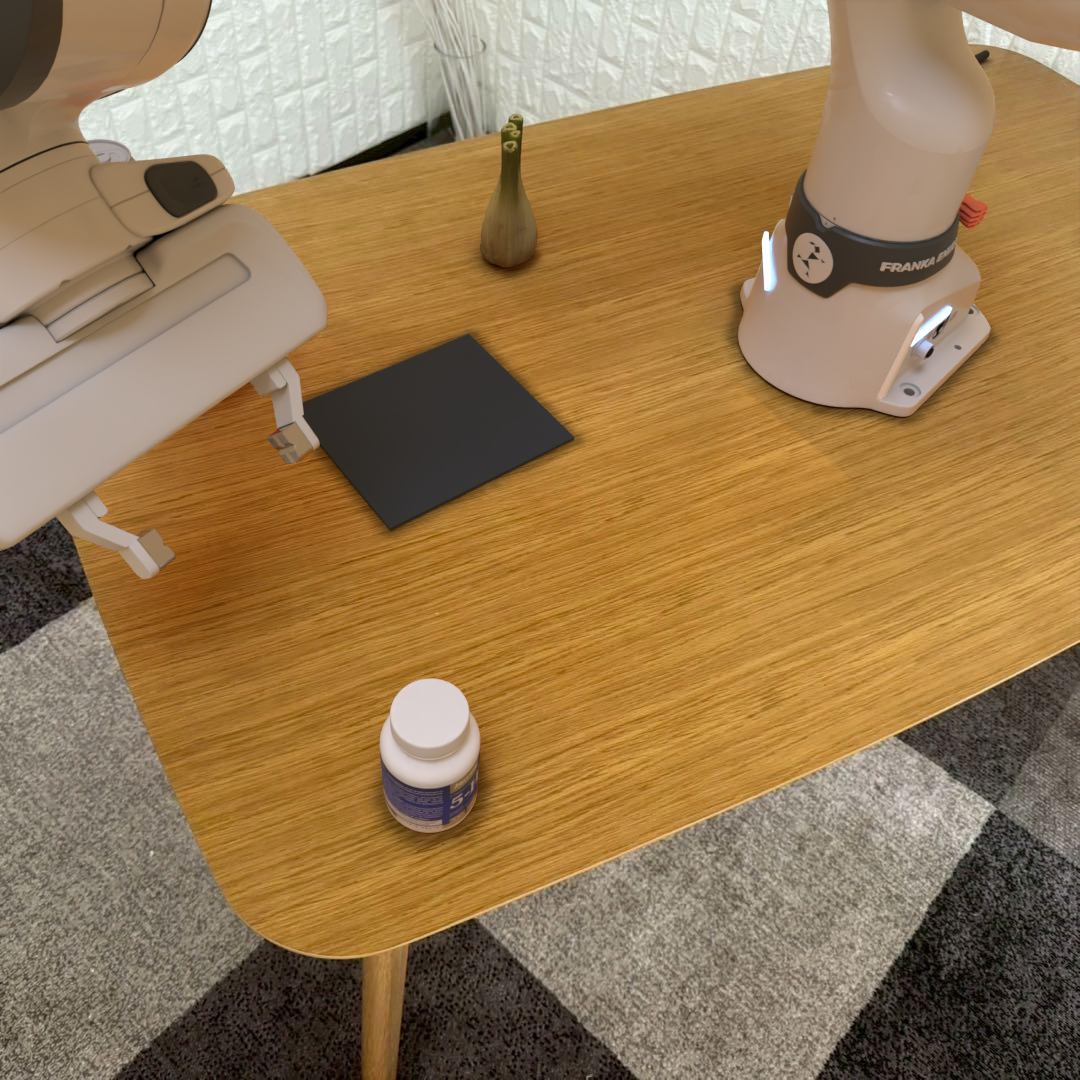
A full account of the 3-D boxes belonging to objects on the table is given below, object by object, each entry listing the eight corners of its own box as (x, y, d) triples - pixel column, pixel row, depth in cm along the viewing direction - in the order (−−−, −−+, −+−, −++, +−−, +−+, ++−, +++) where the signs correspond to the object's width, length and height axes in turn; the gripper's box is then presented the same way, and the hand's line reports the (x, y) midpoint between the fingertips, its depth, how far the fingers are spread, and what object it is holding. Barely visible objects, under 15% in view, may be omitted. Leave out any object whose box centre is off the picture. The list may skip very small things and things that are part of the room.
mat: (468, 336, 83) (468, 333, 82) (574, 439, 76) (574, 437, 76) (290, 410, 76) (290, 407, 76) (390, 531, 69) (389, 528, 69)
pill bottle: (466, 843, 56) (469, 770, 49) (373, 824, 56) (362, 749, 49) (486, 757, 59) (491, 677, 52) (398, 740, 59) (392, 658, 53)
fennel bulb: (503, 231, 92) (509, 104, 83) (549, 251, 91) (560, 123, 81) (466, 262, 89) (468, 133, 79) (514, 283, 87) (521, 154, 78)
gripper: (-175, 360, 37) (76, 650, 41) (244, 142, 48) (406, 389, 53) (-190, 394, 42) (37, 650, 46) (194, 189, 53) (346, 411, 57)
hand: (236, 509), depth 49 cm, fingers open, 8 cm apart
